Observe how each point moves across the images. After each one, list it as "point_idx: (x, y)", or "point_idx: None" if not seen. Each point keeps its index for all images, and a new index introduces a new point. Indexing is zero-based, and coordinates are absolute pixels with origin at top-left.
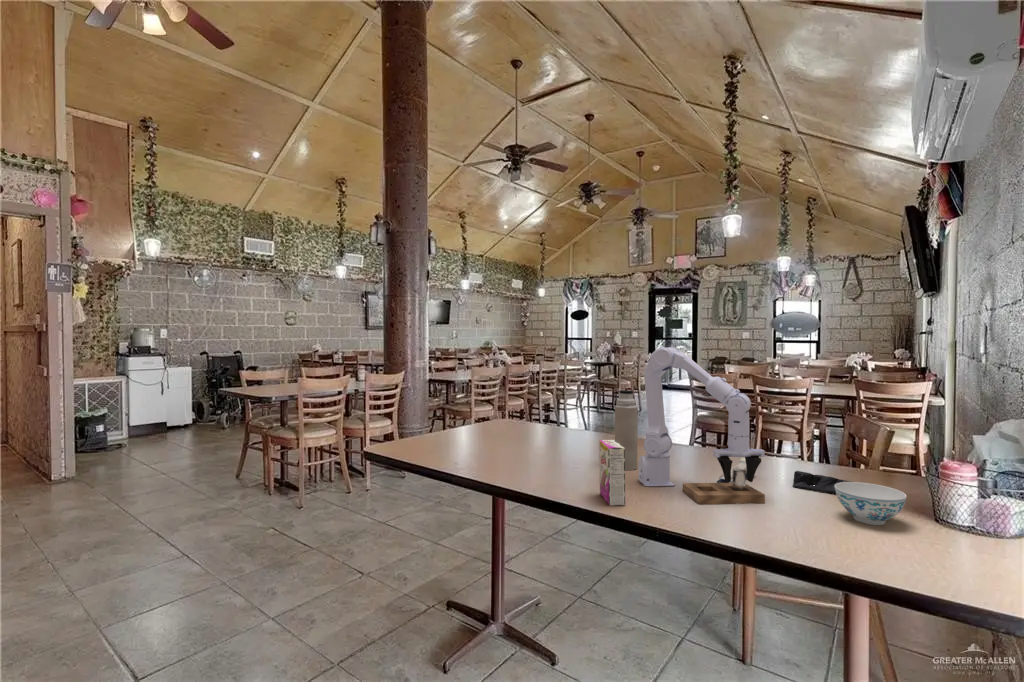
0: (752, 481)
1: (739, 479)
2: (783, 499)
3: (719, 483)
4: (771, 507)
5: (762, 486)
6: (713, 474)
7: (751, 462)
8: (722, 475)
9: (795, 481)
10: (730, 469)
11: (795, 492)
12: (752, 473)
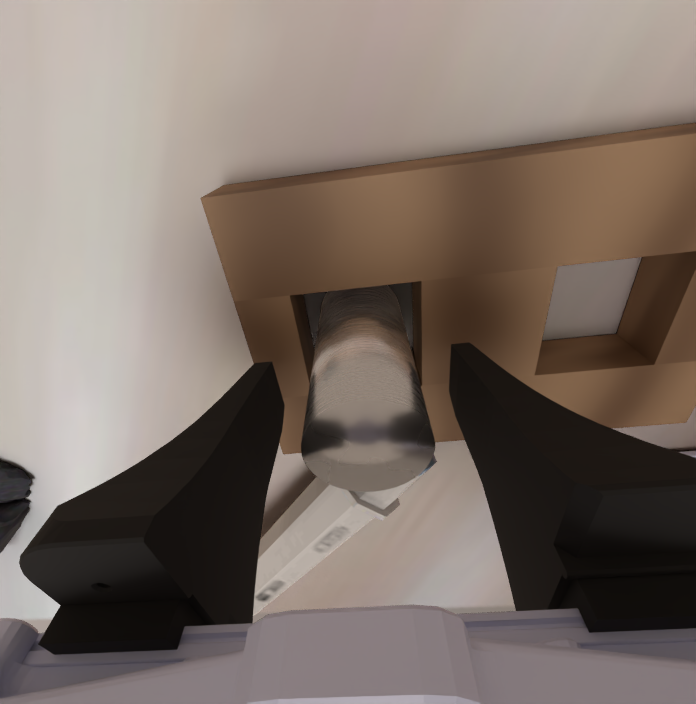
0: (254, 364)
1: (379, 349)
2: (84, 287)
3: (443, 430)
4: (192, 73)
5: None
6: (347, 578)
7: (208, 517)
8: (388, 511)
9: (7, 513)
10: (510, 407)
11: (15, 408)
12: (238, 402)
